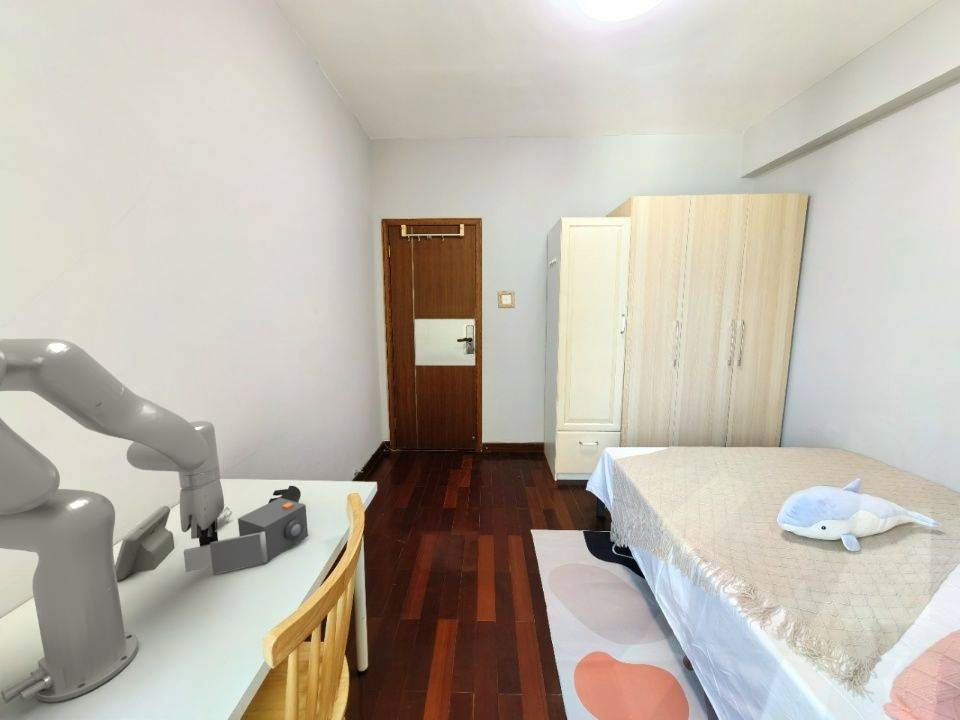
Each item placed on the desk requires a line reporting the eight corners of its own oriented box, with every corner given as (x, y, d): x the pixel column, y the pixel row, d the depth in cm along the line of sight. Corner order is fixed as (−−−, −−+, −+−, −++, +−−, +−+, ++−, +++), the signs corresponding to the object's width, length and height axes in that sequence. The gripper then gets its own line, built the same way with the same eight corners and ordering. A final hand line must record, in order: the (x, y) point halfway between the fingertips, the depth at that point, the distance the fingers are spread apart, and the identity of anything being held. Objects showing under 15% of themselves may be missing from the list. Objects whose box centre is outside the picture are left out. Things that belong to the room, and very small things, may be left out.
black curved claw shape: (296, 520, 114) (294, 498, 114) (269, 524, 113) (267, 502, 112) (301, 504, 124) (300, 484, 123) (277, 507, 122) (275, 487, 121)
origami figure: (198, 523, 114) (196, 507, 113) (232, 514, 119) (230, 498, 118) (197, 542, 104) (196, 525, 104) (234, 532, 109) (233, 515, 108)
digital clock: (155, 541, 105) (150, 504, 103) (189, 541, 105) (185, 503, 104) (97, 584, 89) (91, 540, 87) (138, 583, 89) (132, 539, 87)
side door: (267, 562, 94) (264, 533, 93) (186, 580, 88) (183, 550, 87) (267, 559, 95) (265, 530, 95) (188, 577, 89) (184, 547, 88)
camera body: (271, 563, 95) (268, 525, 94) (241, 551, 100) (237, 515, 98) (311, 537, 106) (309, 502, 104) (282, 527, 110) (279, 494, 109)
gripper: (199, 464, 96) (208, 533, 99) (161, 493, 82) (173, 573, 84) (232, 461, 97) (240, 529, 100) (200, 489, 83) (211, 568, 85)
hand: (210, 549), depth 92 cm, fingers closed
